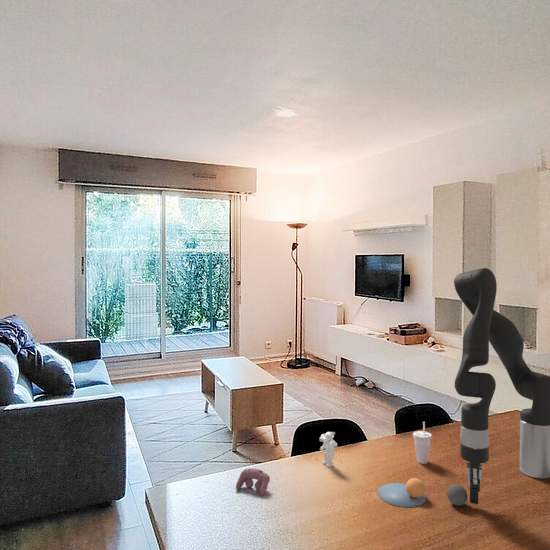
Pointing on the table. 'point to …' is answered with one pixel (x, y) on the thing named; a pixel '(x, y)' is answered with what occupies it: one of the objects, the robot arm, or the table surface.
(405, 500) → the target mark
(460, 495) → the grey ball
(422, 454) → the smoothie
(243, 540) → the table surface
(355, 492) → the table surface
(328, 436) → the white humanoid figurine
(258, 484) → the red animal figurine
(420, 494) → the object ball
